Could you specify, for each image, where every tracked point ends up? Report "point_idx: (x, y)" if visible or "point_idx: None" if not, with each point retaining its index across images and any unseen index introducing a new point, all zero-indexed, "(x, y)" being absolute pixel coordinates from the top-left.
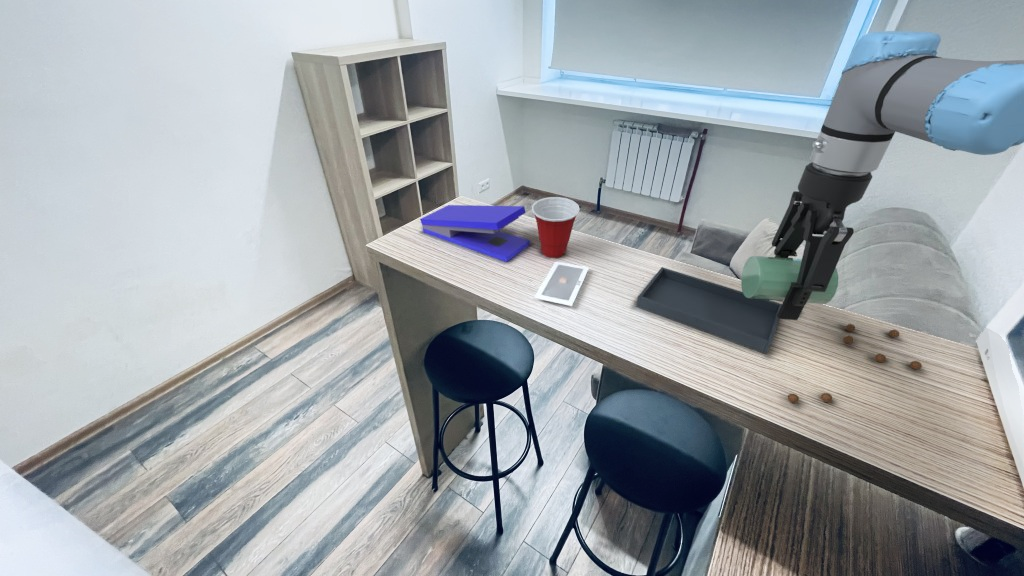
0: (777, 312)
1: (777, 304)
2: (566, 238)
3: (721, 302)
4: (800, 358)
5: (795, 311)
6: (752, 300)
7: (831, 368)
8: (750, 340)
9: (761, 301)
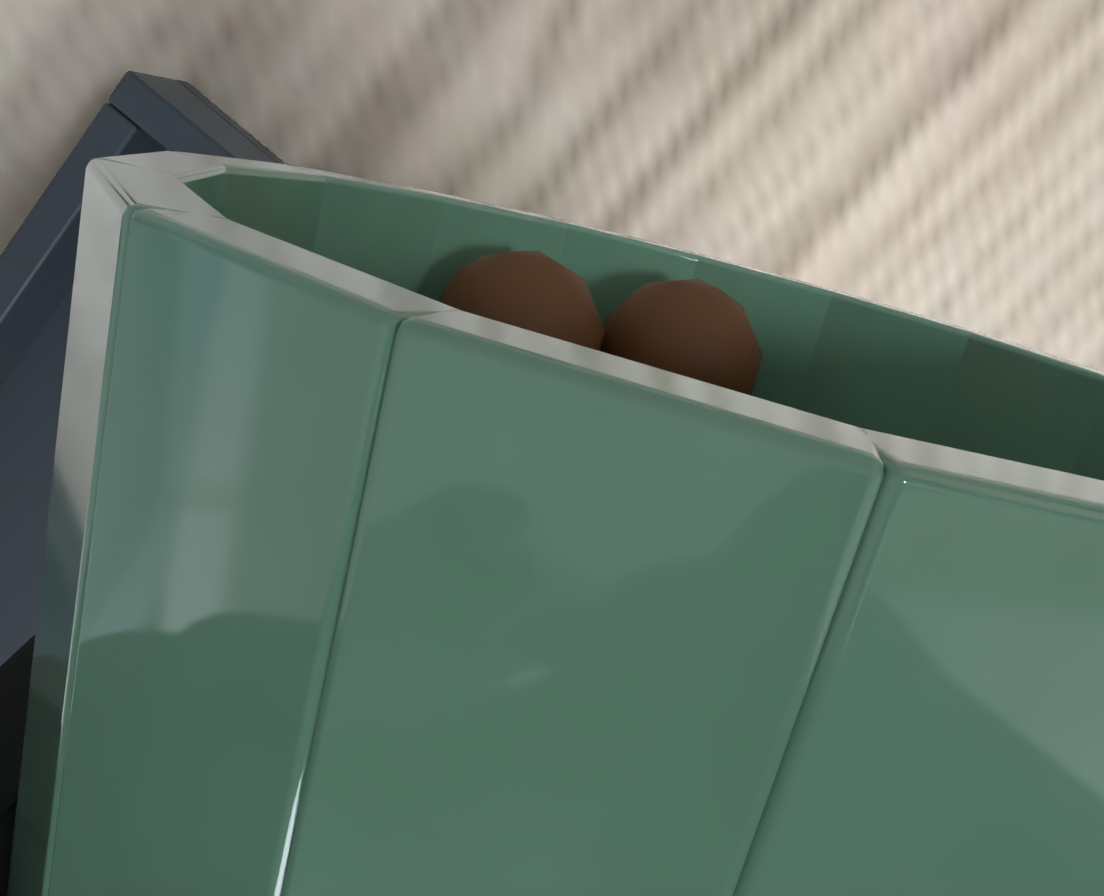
0: None
1: (125, 144)
2: None
3: (17, 584)
4: (818, 277)
5: None
6: (15, 334)
7: (982, 76)
8: None
9: (48, 270)
